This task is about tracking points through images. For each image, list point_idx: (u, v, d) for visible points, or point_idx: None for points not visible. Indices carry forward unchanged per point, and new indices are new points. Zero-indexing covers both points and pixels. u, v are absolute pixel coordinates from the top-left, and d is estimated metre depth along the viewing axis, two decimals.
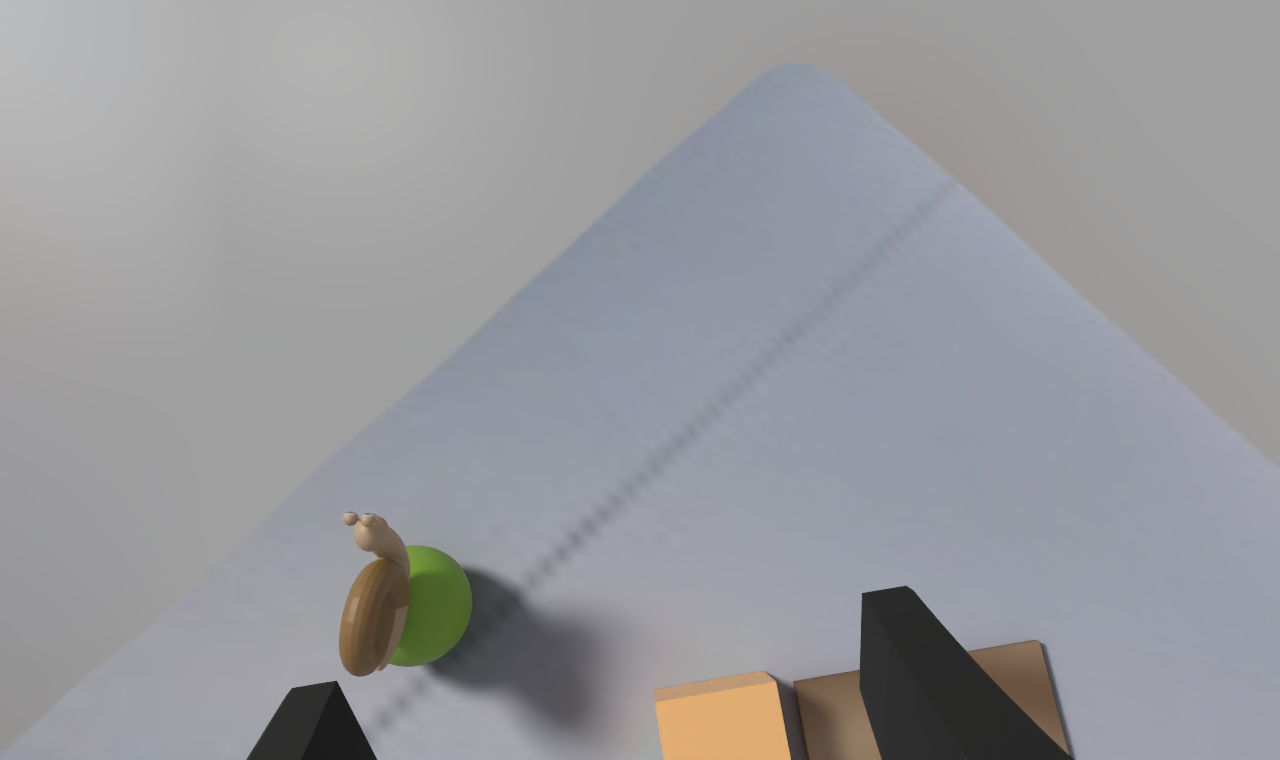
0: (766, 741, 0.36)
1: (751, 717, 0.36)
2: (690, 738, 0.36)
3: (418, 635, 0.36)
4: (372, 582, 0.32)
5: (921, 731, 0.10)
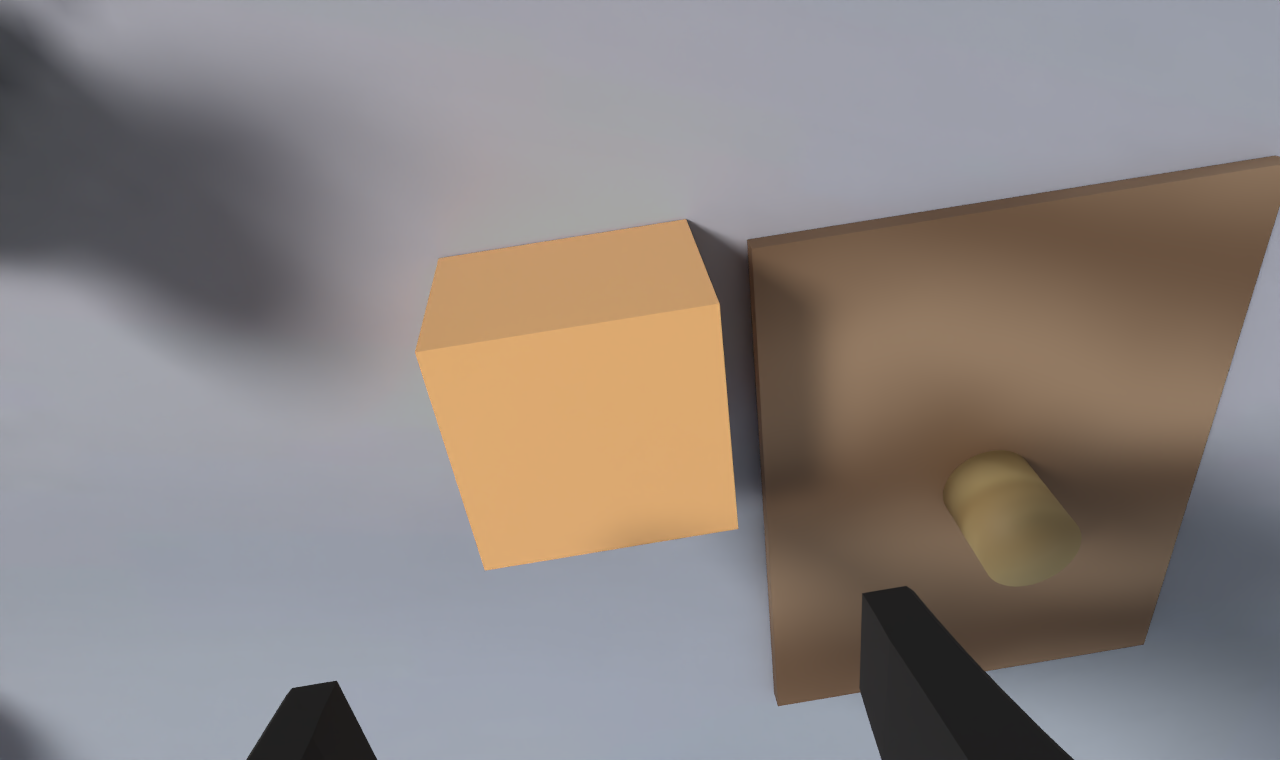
0: (682, 418, 0.16)
1: (653, 376, 0.15)
2: (508, 417, 0.15)
3: None
4: None
5: (921, 731, 0.10)
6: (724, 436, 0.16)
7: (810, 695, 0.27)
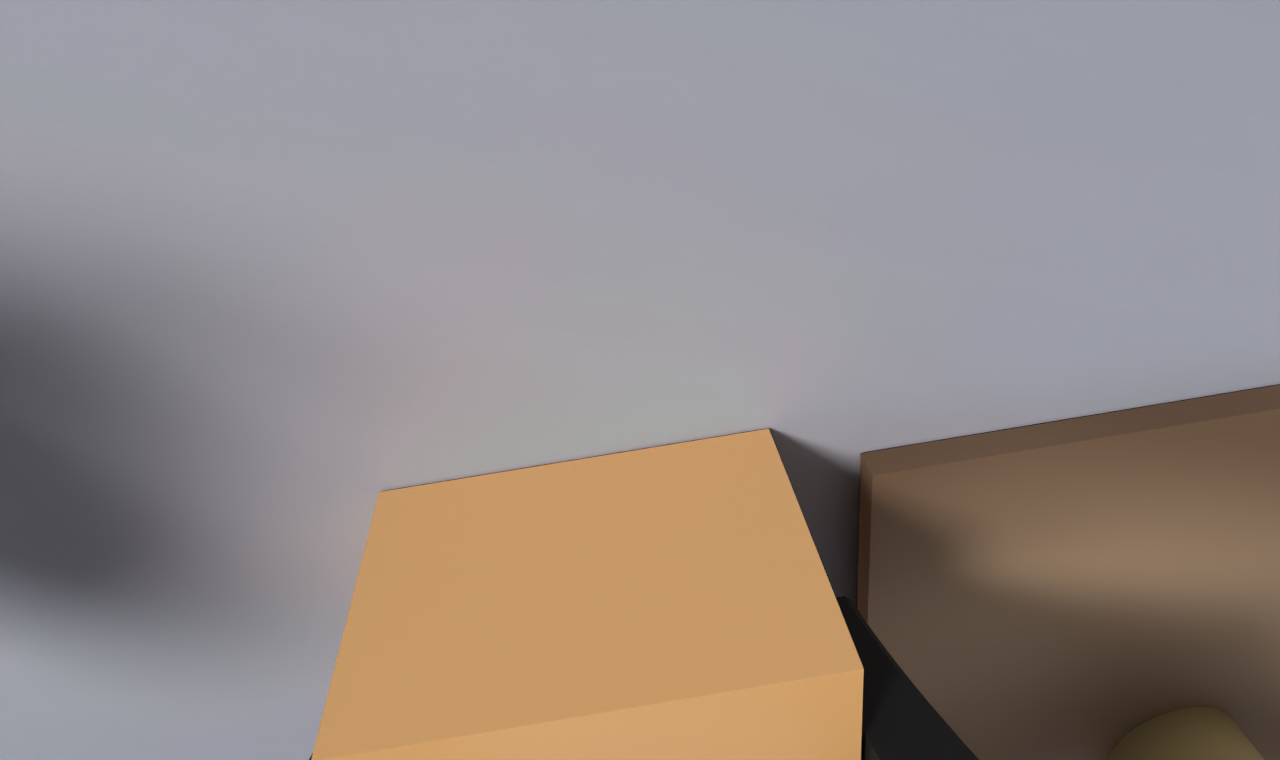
0: None
1: None
2: None
3: None
4: None
5: None
6: None
7: None
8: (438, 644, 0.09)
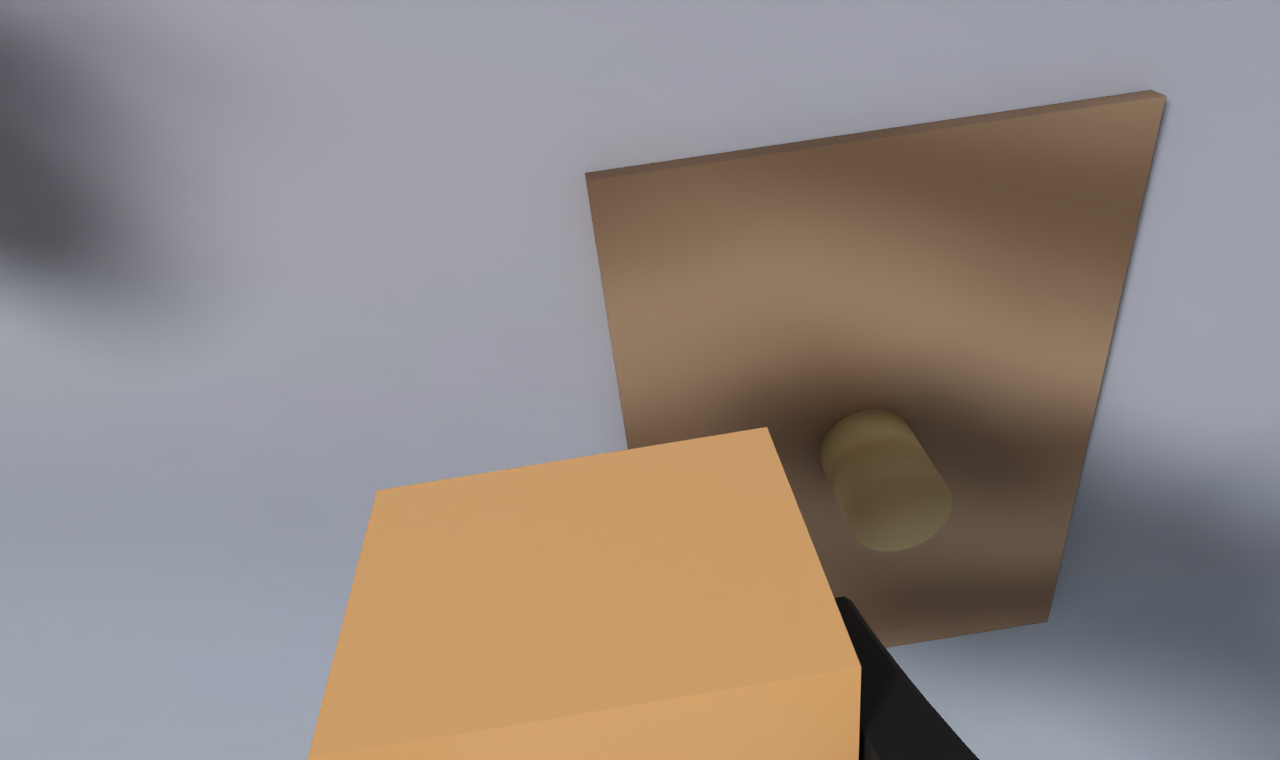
0: None
1: None
2: None
3: None
4: None
5: None
6: None
7: None
8: (435, 642, 0.09)
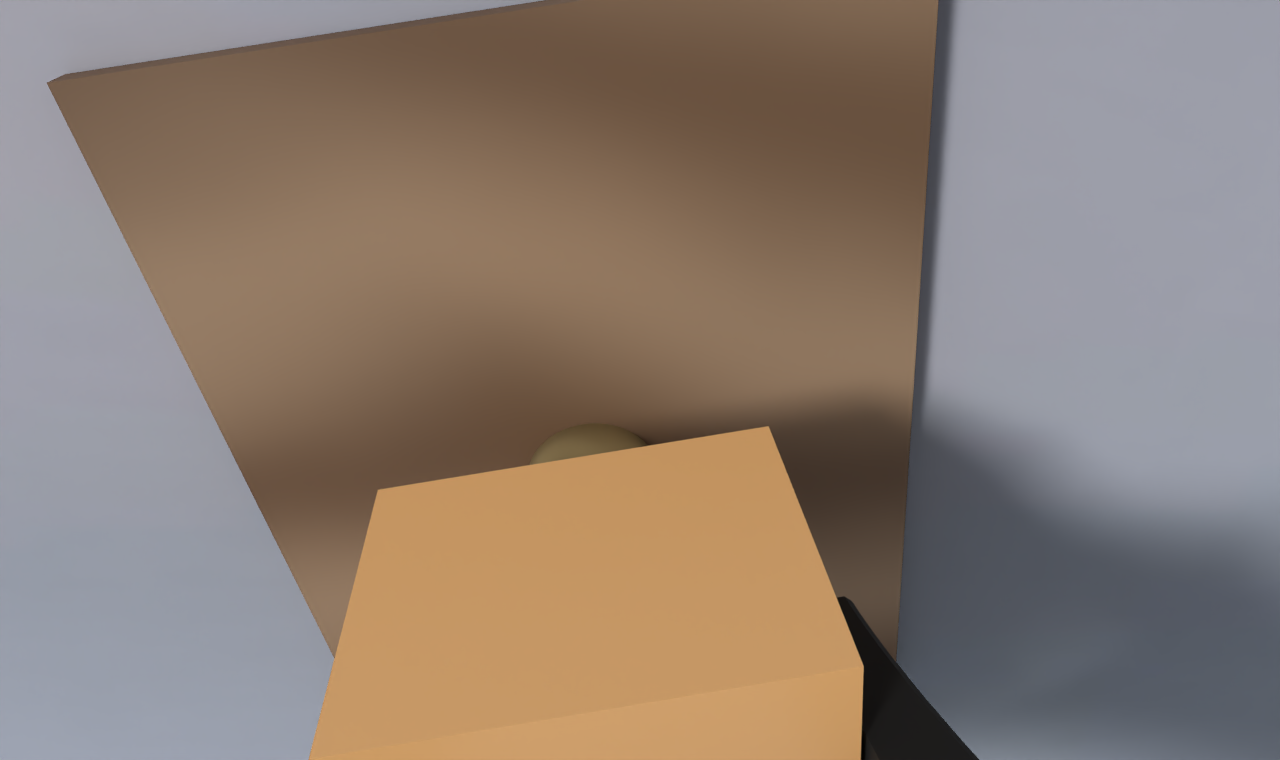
0: None
1: None
2: None
3: None
4: None
5: None
6: None
7: None
8: (436, 642, 0.09)
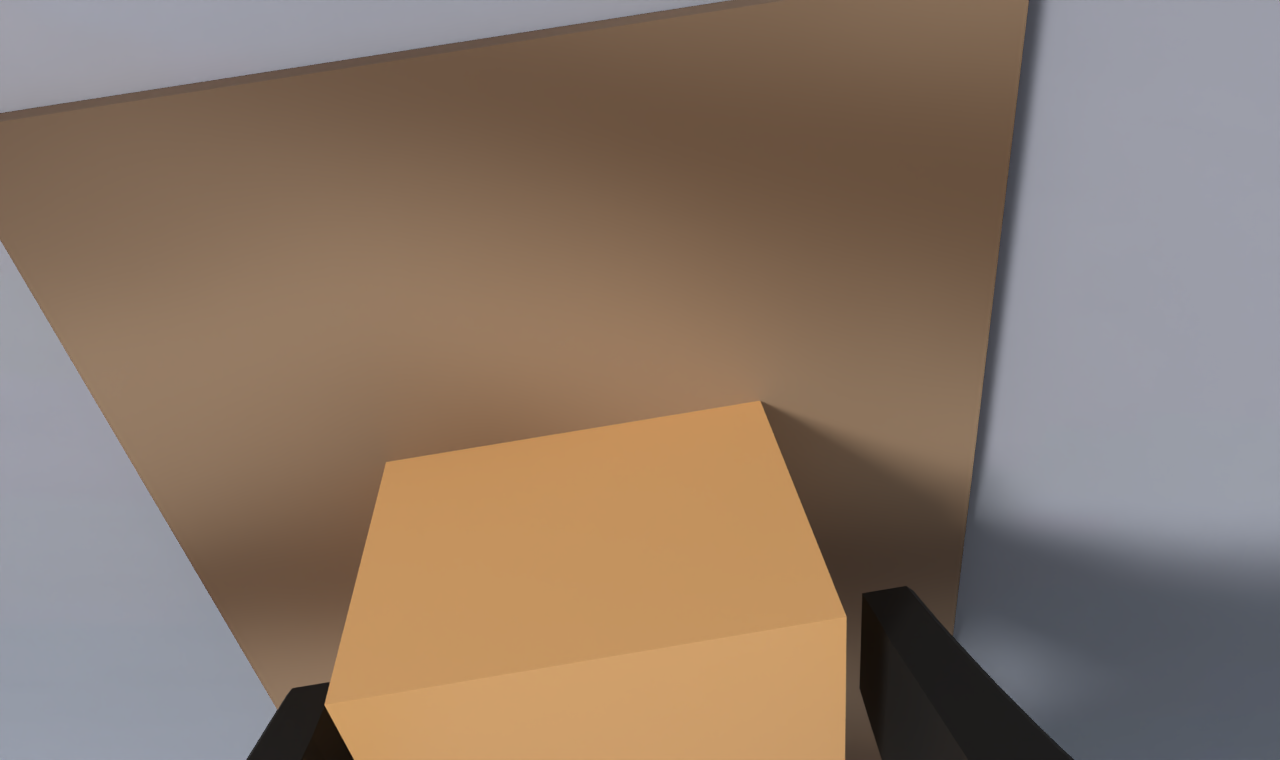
0: None
1: (726, 715, 0.09)
2: None
3: None
4: None
5: (921, 731, 0.10)
6: None
7: None
8: (444, 599, 0.09)
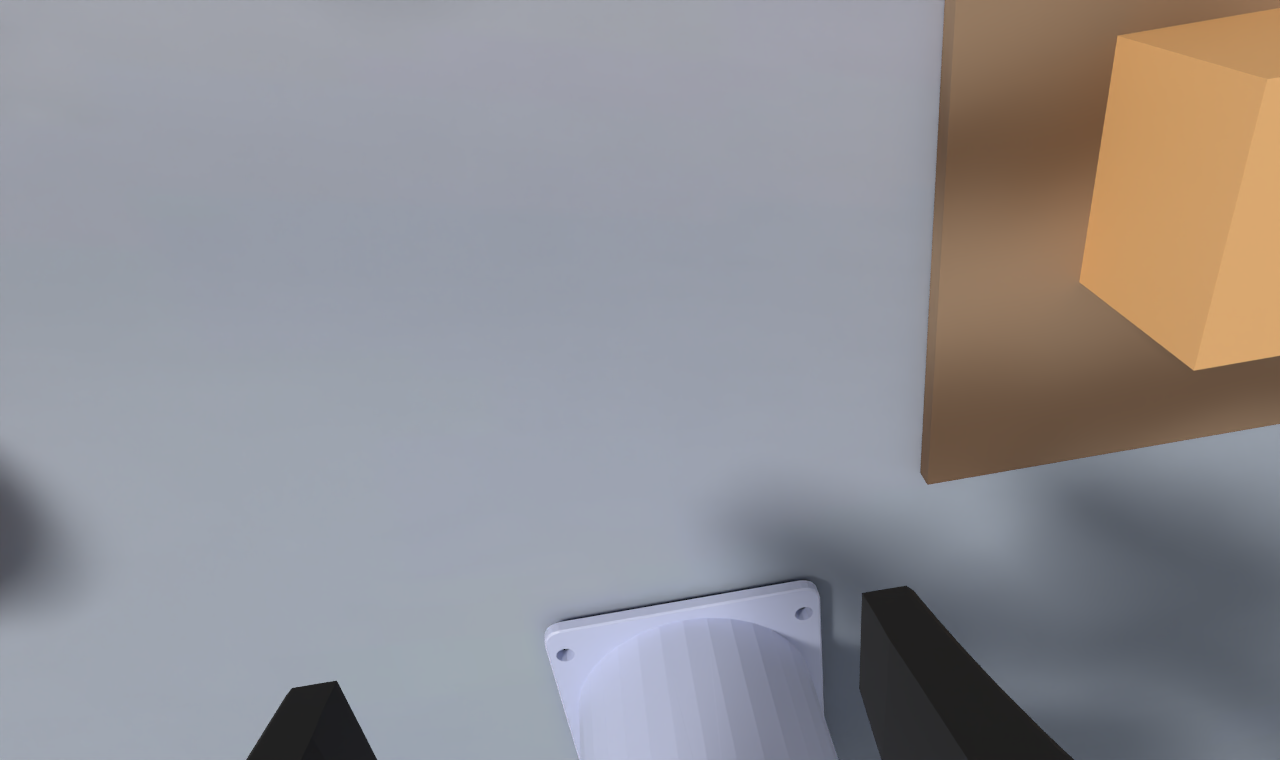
0: None
1: None
2: None
3: None
4: None
5: (921, 731, 0.10)
6: None
7: (967, 470, 0.22)
8: None
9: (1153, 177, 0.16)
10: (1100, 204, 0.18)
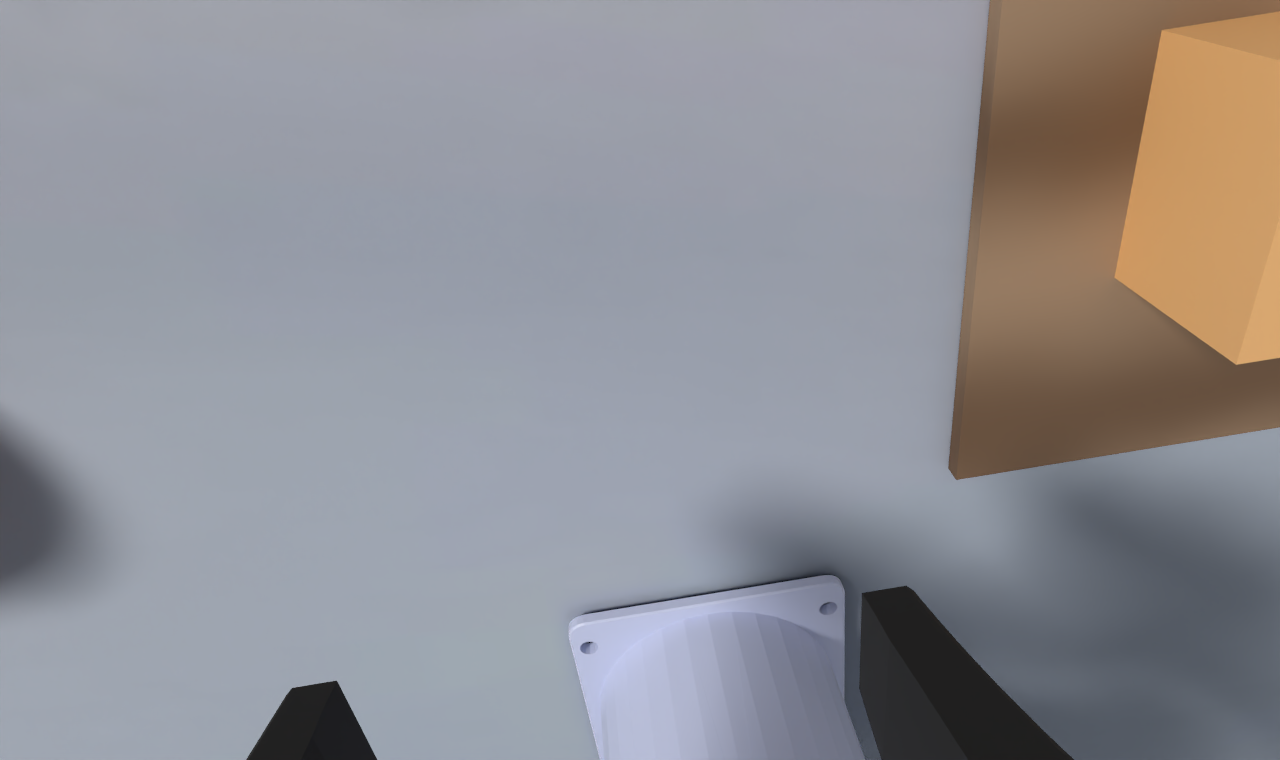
0: None
1: None
2: None
3: None
4: None
5: (921, 731, 0.10)
6: None
7: (996, 466, 0.22)
8: None
9: (1197, 171, 0.16)
10: (1139, 199, 0.18)
